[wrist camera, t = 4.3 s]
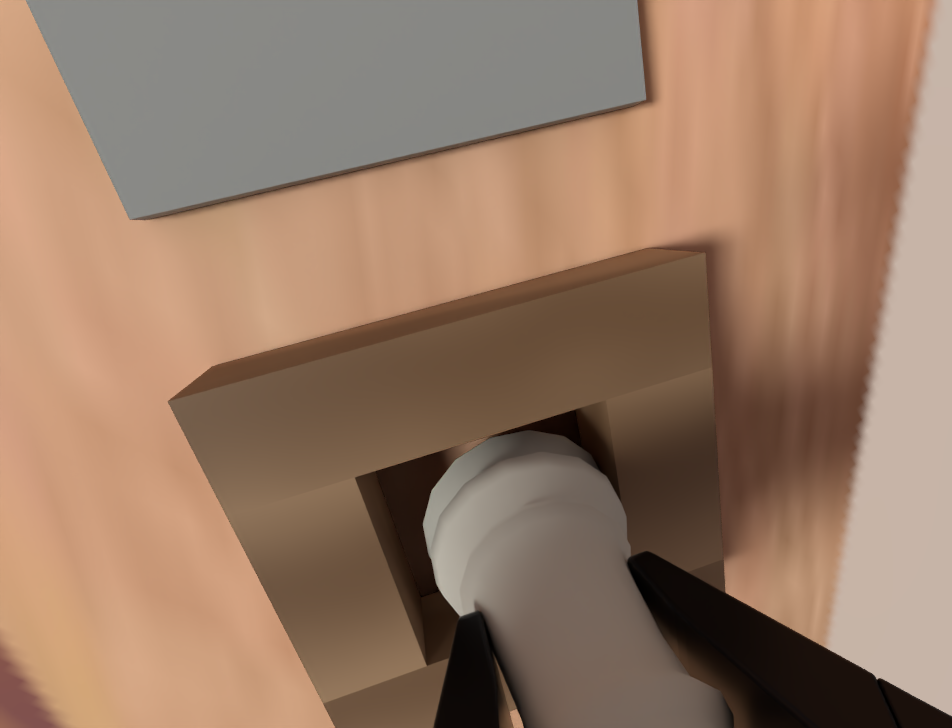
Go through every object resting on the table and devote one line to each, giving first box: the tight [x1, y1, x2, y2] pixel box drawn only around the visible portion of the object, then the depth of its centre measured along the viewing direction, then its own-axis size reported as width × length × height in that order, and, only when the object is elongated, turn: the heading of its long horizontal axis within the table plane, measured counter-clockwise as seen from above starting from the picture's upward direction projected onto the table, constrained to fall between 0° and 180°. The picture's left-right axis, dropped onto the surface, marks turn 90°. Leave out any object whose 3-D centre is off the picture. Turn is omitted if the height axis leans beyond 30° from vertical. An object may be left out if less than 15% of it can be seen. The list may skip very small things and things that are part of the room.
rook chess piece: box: [423, 430, 734, 728], centre depth 7 cm, size 4×4×8 cm
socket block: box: [168, 248, 725, 728], centre depth 10 cm, size 10×10×2 cm
